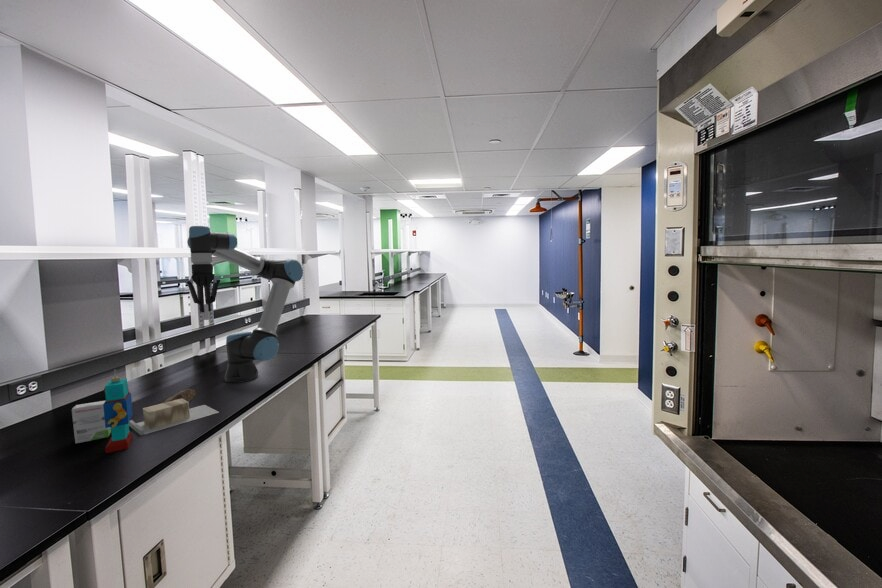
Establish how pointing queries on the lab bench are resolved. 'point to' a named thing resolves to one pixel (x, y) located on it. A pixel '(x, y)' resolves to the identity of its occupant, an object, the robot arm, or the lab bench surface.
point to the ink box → (89, 422)
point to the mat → (194, 414)
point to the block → (166, 413)
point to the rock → (182, 395)
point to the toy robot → (118, 413)
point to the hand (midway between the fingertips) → (205, 319)
